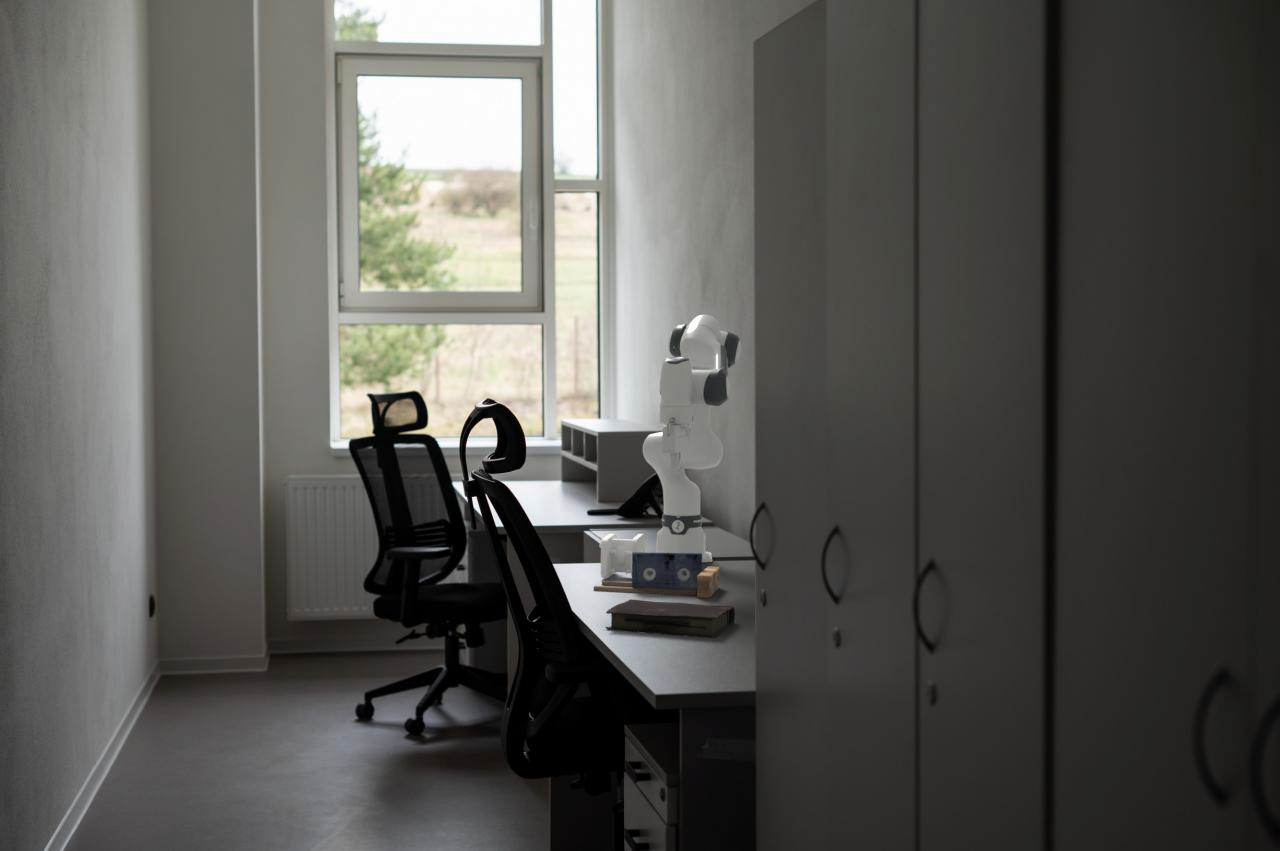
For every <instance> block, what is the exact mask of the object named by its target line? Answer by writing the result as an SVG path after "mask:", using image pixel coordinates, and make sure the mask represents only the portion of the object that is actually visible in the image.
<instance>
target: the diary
mask: <svg viewBox="0 0 1280 851" xmlns="http://www.w3.org/2000/svg"><path fill="white" fill-rule="evenodd" d="M735 612H736V611H735V606H733V605H707V604H699V603H698V604H696V603H688V602H668V601H667V602H666V601H665V602H664V601H650V600H642V599H641V600H640V599H639V600H638V599H628V600H626V601H624V602H621V603H618V604H616V605H614V606H612V607H611V608H608V609H607V611H606V614H608V615H609V614H611V615H610V617H611V623H610V624H611V626H609V627H608V626H605V628H606V629H607V630H609V631H615V632H626V631H627V633H628V632H629V633H639V632H645V633H644V634H655V633H659V634H660V635H665V634H666V635H669V636H684V635H687V636H686V637H693V636H697V637H696V638H704V637H706V638H708V639H717V638H718V637H719V636H721V634H723V633H724V632H725V631H726V629H724V628H725V627H727V626H729V624H731V625H732V624H735V620H736V617H735V616H736V613H735Z"/></svg>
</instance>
